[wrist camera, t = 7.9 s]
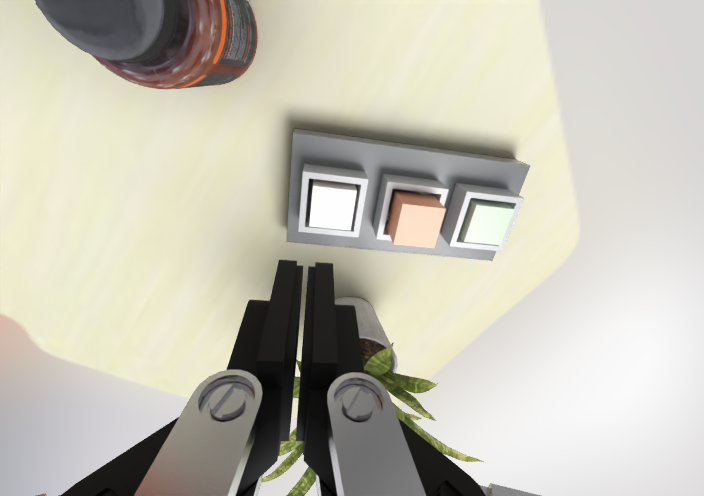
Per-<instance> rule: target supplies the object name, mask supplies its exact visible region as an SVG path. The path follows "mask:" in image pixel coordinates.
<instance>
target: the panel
mask: <svg viewBox="0 0 704 496" xmlns="http://www.w3.org/2000/svg"><path fill="white" fill-rule="evenodd" d="M529 168H530V165H527V164H525V163H523V162H521V161H518V160H516V159H509V158H502V157H495V156H488V155H481V154H474V153H467V152H460V151H452V150H445V149H438V148H431V147H424V146H417V145H410V144H403V143H395V142H388V141H381V140H374V139H367V138H360V137H353V136H346V135H338V134H331V133H324V132H317V131H310V130H303V129H296V128H295V130H294V132H293V139H292V156H291V173H290V190H289V207H288V224H287V241H286V242H295V243H305V244H316V245H327V246H338V247H349V248H360V249H371V250H382V251H392V252H403V253H414V254H425V255H436V256H447V257H458V258H469V259H479V260H490V261H492V260H493V258H494V255H495V253H496V251H503V248H504V246H505V243H506V241H507V239H508V236H509V234H510V231H511V229H512V226H513V224H514V221H515V219H516V217H517V214H518V212H519V209H520V207H521V204H522V202H523V199H524V198H522V197H521V196H519V193H520V190H521V188H522V185H523V183H524V180H525V178H526V175H527V173H528V170H529ZM313 179H318V180H326V181H335V182H343V183H351V184H355V186H356V190H357V193H356V200H355V206H354V212H353V219H352V225H351V231H350V230H340V229H330V228H320V227H310V226H309V223H310V211H311V201H312V190H313ZM395 191H399V192H408V193H416V194H425V195H433V196H435V197H436V198H437V199H438V201H439V202H440V203H441V204H442V205H443V206H444V207H445V208H446V211H445V214H444V218H443V221H442V224H441V228H440V231H439V235H438V238H437V241H436V245H435V248H426V247H415V246H405V245H394V244H393V242H392V240H391V237H390V235H389V233H388V230H387V225H388V220H389V215H390V211H391V206H392V201H393V197H394V192H395ZM471 198H477V199H485V200H493V201H502V202H505V203H506V204H508V205H509V206H510V207H512V208H513V209H515V210H514V212H513V215H512V217H511V220H510V222H509V225H508V227H507V230H506V232H505V235H504V237H503V240H502V242H501V245H491V244H481V243H471V242H464V241H463V240H462V239H461V238H460V237H459V232H460V229H461V226H462V223H463V220H464V217H465V214H466V211H467V208H468V205H469V202H470V199H471Z"/></svg>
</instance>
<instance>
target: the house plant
mask: <svg viewBox="0 0 704 496" xmlns="http://www.w3.org/2000/svg"><path fill="white" fill-rule="evenodd" d="M335 304H339V305H354V306H355V309H356V316H357V323H358V331H359V338H360V345H361V353H362V360H363V367H364V374H367V375H370V376H372V377H374V378H375V379H377V380H378V381H379V382H380V383H381V384H382V385H383V386H384V387H385V388H386V390H388V391H389V392H390V393H391V394H392V395H394V396H395V397H397V398H398V399H400V400H401V401H403V402H404V403H405V404H407V405H408V406H410V407H411V408H412V409H414V410H415V411H416V412H418V413H419V414H421V415H423V416H424V417H426V418H429V419H432V420H435V419H434V418H433V417H432V415H431V414H429V413H428V412H427V411H426V410H424V409H423V407H422V406H421V404H420V403H419V402H418V401H417V399H416V398H414V397H413V396H412V395H411V394H409V393H408V392H406V391H409V392H413V393H423V392H426V391H429V390H430V389H432V388H433V387H435V386H436V385H437V384H434V383H432V382H430V381H428V380H424V379H420V378H415V377H409V376H404V375H400V374H396V369H397V366H398V365H397V357H396V355H395V353H394V351H393V349H392V346H393V343H392V344H391V345H390V342H389V340H388V338H387V336H386V334H385V332H384V330H383V328H382V326H381V324H380V322H379V320H378V318H377V316H376V314H375V312H374V310H373V308H372V306H371V305H370V304H369V303H368V302H367V301H365V300H364V299H361V298H356V297H341V298H339V299H336V300H335ZM296 362H297V364H298V367H299V370H300V373H301V362H300V361H298V360H297V359H296ZM299 388H300V377H295V379H294V390H293V397H294V398H299ZM403 389H404V390H403ZM405 390H406V391H405ZM392 404H393V407H394V409H395V412H396V415H397V417H398V418H399V419H400V420H401V421H403V422H404V423H405V424H406V425H408V426H409V427H410V428H411V429H412V430H414V431H415V432H416V433H417V434H419V435H420V436H421V437H422V438H424V439H425V440H426V441H427V442H429V443H430V444H431V445H432V446H433V447H435V448H436V449H437V450H438V451H440V452H441V453H442V454H445V455H448V456H451V457H454V458H456V459H459V460H463V461H467V462H473V461H480V460H478V459H475V458H472V457H469V456H466V455H464V454H462V453H460V452H458V451H455V450H453V449H452V448H450V447H447V446H446V445H444V444H443V443H441V442H440V441H438V440H437V439H435V438H434V437H432V436H431V435H430V434H428V433H427V432H426V431H424V430H423V429H422V428H420V427H419V426H418V425H417V424H416V423H414V422H413V421H412V420H411V419H413V420H418V419H421V418H419V417H417V416H414V415H412V414H407V413H405V412H403V411H402V410H401V409H399V408H398V407H397V406H396V405H395V404H394V403H393V402H392ZM296 430H297V428H296V429H295V430H294V431H293V432H292V433H291V434H290V435H289V441H283V442H281V445H280V454H279V455H278V456H281V455H283V454H286V453H288V452H290V451H292V450H293V449H294V451H293V452H292V453H291V454H290V455H289V456H288V457H287V458H286V459H285V460H284V462H282V464H281V465H280V466H279V467H278V468H277V469H276V470H275V471H274V472H273V473H271V474H270V475H268V476H266V477H264V478H262V482H266V481H270V480H272V479H275V478H277V477H278V476H280V475H282V474H283V473H284V472H286V471H287V470H288V469H289V468H290V467H291V466H292V465H293V464H294V463H295V462H296V460H297V459H298V458H299V457H300V456H301V454H302V453H303V445H304V441H296ZM315 481H316V473H315V472H314V471H313V470H312V469H311V468H310V467H308V469H307V470H306V472H305V473H304V475H303V476H302V477H301V479H300V480H299V482H298V483H297V484H296V485H295V487H294V488H293V489H292V490H291V491H290V492H289V494H288V495H287V496H304V495H305V494H306V493H307V492H308V490H309V489H310V487H311V486H312V485H313V484H314V482H315Z"/></svg>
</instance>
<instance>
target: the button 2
mask: <svg viewBox="0 0 704 496" xmlns="http://www.w3.org/2000/svg"><path fill="white" fill-rule="evenodd" d="M445 211H446V208H445V207H444V206H443V205H442V204H441V203H440V202H439V201H438V199H437V198H436V197H435V196H433V195H425V194H416V193H408V192H399V191H395V192H394V197H393V201H392V206H391V211H390V215H389V220H388V225H387V230H388V233H389V235H390V237H391V240H392V242H393V244H394V245H405V246H415V247H426V248H435V245H436V241H437V238H438V235H439V231H440V228H441V224H442V221H443V218H444V214H445Z"/></svg>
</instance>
